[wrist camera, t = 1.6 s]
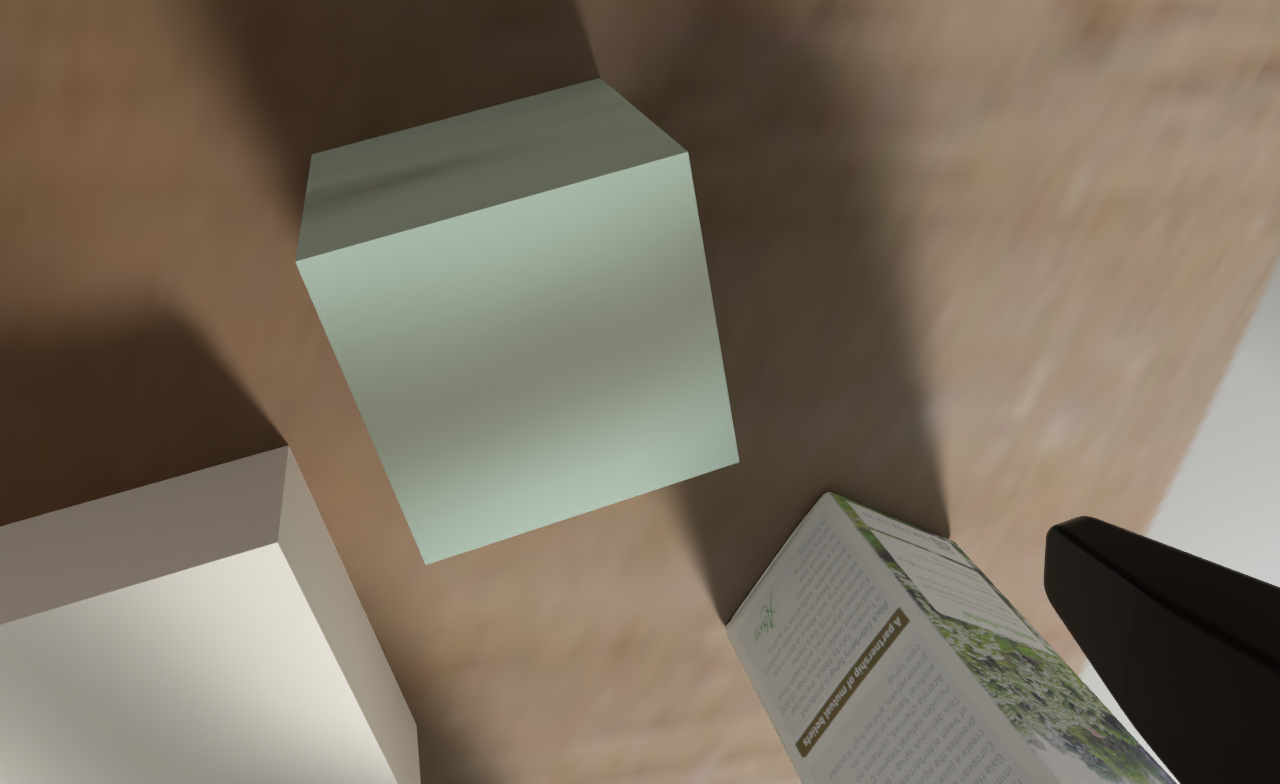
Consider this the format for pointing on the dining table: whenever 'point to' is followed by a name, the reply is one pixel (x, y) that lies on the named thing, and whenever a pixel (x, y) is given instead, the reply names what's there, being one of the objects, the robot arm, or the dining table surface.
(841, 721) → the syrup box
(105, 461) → the dining table surface
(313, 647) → the cream block
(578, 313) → the green cube
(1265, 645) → the robot arm
